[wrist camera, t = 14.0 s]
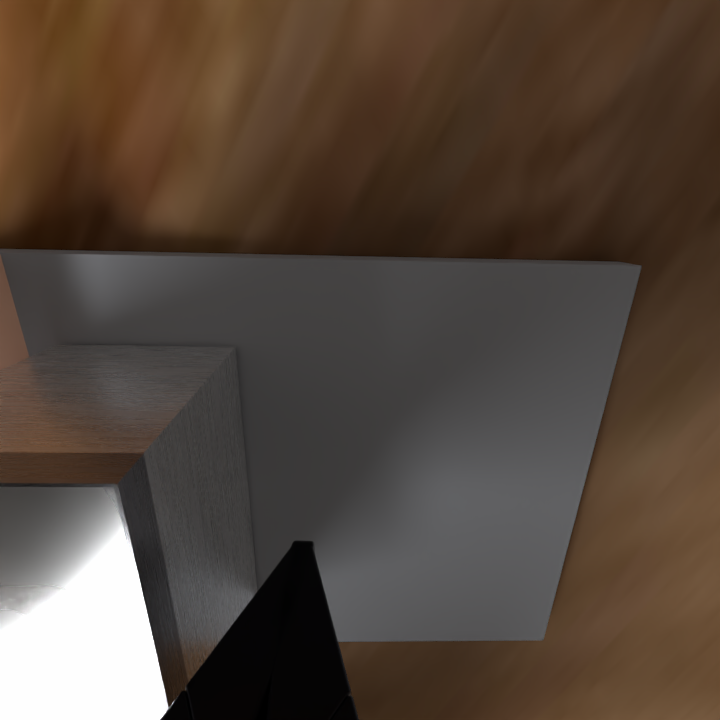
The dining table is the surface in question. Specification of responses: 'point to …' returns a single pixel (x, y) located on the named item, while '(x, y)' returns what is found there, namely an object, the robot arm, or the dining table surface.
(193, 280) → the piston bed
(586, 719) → the dining table surface
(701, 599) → the dining table surface
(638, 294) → the dining table surface
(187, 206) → the dining table surface
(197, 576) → the grey square block
